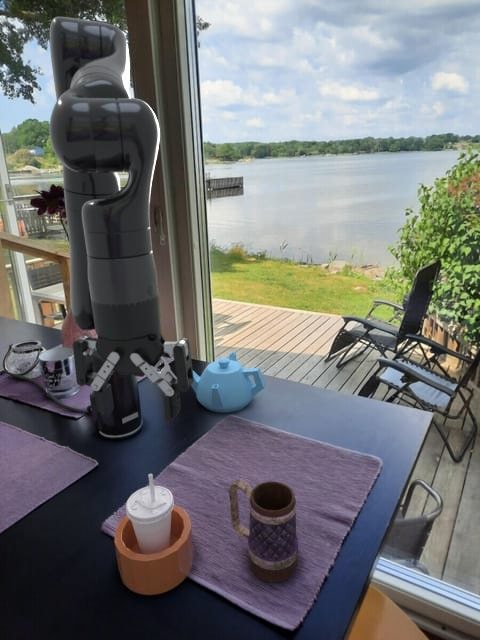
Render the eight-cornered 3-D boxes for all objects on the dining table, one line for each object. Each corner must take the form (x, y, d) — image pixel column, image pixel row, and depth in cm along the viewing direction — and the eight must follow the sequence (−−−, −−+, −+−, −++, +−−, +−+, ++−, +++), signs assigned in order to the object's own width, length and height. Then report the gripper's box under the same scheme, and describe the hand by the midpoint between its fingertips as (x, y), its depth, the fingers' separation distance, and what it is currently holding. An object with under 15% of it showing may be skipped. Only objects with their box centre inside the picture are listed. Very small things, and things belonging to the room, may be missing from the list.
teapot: (213, 424, 97) (210, 380, 93) (182, 397, 109) (179, 357, 105) (269, 404, 104) (268, 362, 101) (235, 380, 117) (233, 343, 113)
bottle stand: (106, 589, 59) (100, 555, 57) (137, 530, 69) (132, 498, 67) (181, 600, 57) (177, 565, 56) (201, 537, 67) (199, 505, 65)
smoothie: (169, 578, 59) (160, 493, 55) (125, 571, 61) (112, 488, 56) (184, 541, 65) (177, 461, 61) (144, 535, 67) (134, 457, 62)
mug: (306, 556, 63) (308, 487, 59) (283, 594, 58) (282, 521, 54) (247, 527, 69) (245, 462, 65) (220, 559, 63) (216, 490, 59)
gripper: (194, 285, 52) (201, 405, 58) (84, 282, 55) (100, 397, 60) (174, 303, 45) (184, 438, 51) (49, 299, 48) (71, 428, 53)
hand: (139, 416), depth 56 cm, fingers open, 8 cm apart
